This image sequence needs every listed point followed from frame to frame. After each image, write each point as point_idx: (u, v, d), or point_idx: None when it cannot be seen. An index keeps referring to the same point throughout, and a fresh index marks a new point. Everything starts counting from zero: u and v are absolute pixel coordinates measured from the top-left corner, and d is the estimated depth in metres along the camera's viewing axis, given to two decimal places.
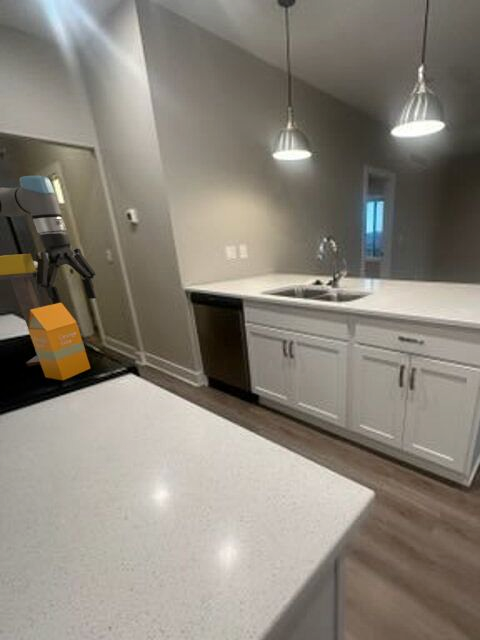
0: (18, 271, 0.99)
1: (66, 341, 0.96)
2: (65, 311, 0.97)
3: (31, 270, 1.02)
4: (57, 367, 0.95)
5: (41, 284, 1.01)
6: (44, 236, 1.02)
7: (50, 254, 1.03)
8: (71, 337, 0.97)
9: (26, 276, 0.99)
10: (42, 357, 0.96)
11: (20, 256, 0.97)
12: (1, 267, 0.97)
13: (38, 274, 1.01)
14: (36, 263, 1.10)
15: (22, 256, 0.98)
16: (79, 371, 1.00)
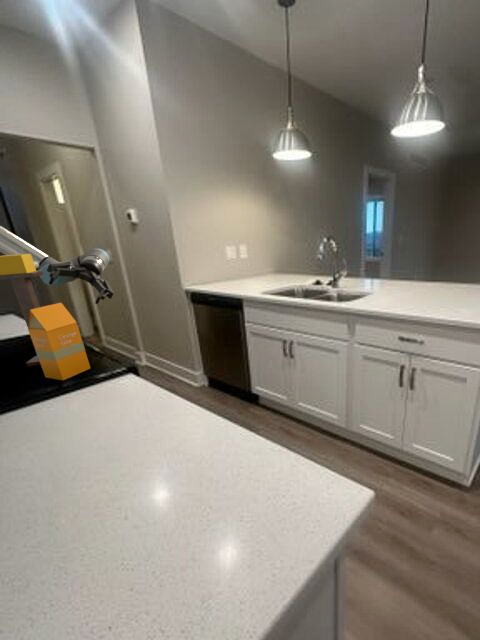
0: (18, 271, 0.99)
1: (66, 341, 0.96)
2: (65, 311, 0.97)
3: (31, 270, 1.02)
4: (57, 367, 0.95)
5: (48, 266, 1.13)
6: None
7: (75, 266, 1.22)
8: (71, 337, 0.97)
9: (26, 276, 0.99)
10: (42, 357, 0.96)
11: (20, 256, 0.97)
12: (1, 267, 0.97)
13: None
14: (36, 263, 1.10)
15: (22, 256, 0.98)
16: (79, 371, 1.00)
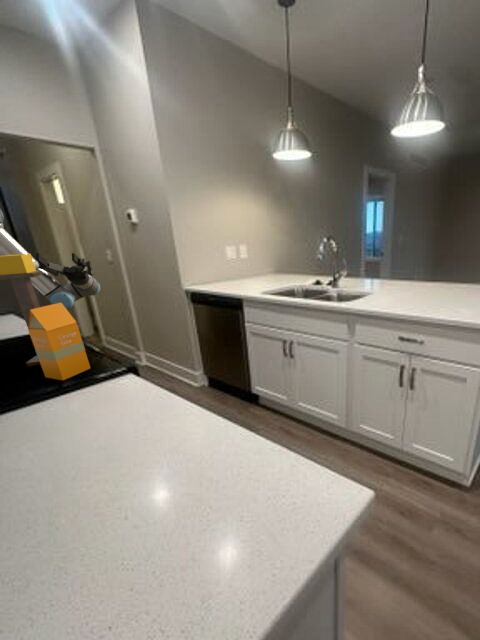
0: (18, 271, 0.99)
1: (66, 341, 0.96)
2: (65, 311, 0.97)
3: (31, 270, 1.02)
4: (57, 367, 0.95)
5: None
6: None
7: None
8: (71, 337, 0.97)
9: (26, 276, 0.99)
10: (41, 357, 0.96)
11: (20, 256, 0.97)
12: (1, 267, 0.97)
13: None
14: (36, 263, 1.10)
15: (22, 256, 0.98)
16: (79, 371, 1.00)
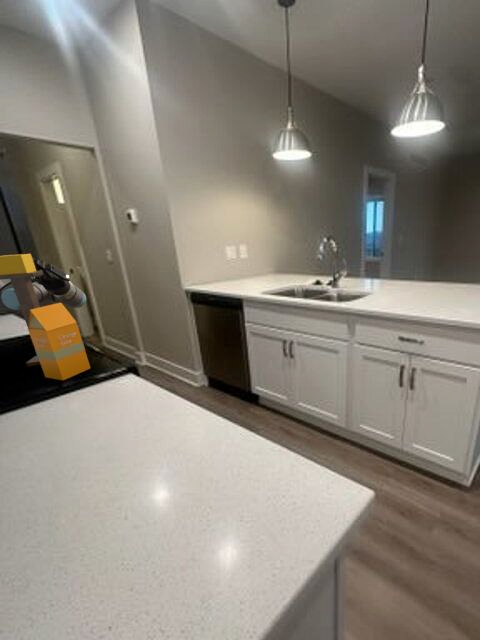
0: (18, 271, 0.99)
1: (66, 341, 0.96)
2: (65, 311, 0.97)
3: (31, 270, 1.02)
4: (57, 367, 0.95)
5: None
6: None
7: None
8: (71, 337, 0.97)
9: (26, 276, 0.99)
10: (41, 357, 0.96)
11: (20, 256, 0.97)
12: (1, 267, 0.97)
13: None
14: None
15: (22, 256, 0.98)
16: (79, 371, 1.00)
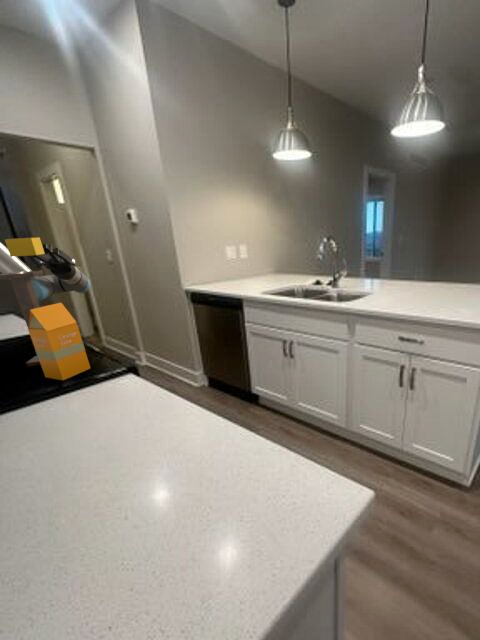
0: (28, 253, 1.06)
1: (66, 341, 0.96)
2: (65, 311, 0.97)
3: (40, 253, 1.09)
4: (57, 367, 0.95)
5: None
6: None
7: None
8: (71, 337, 0.97)
9: (26, 276, 0.99)
10: (41, 357, 0.96)
11: (30, 239, 1.04)
12: (12, 249, 1.04)
13: None
14: None
15: (32, 239, 1.05)
16: (79, 371, 1.00)
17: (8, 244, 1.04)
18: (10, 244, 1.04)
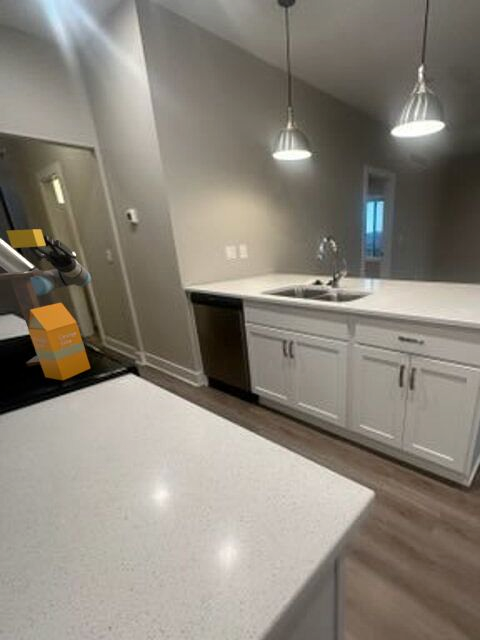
0: (29, 244, 1.07)
1: (66, 341, 0.96)
2: (65, 311, 0.97)
3: (41, 244, 1.10)
4: (57, 367, 0.95)
5: None
6: None
7: None
8: (71, 337, 0.97)
9: (26, 276, 0.99)
10: (42, 357, 0.96)
11: (32, 230, 1.06)
12: (14, 240, 1.06)
13: None
14: None
15: (33, 230, 1.06)
16: (79, 371, 1.00)
17: (10, 235, 1.05)
18: (12, 235, 1.05)
